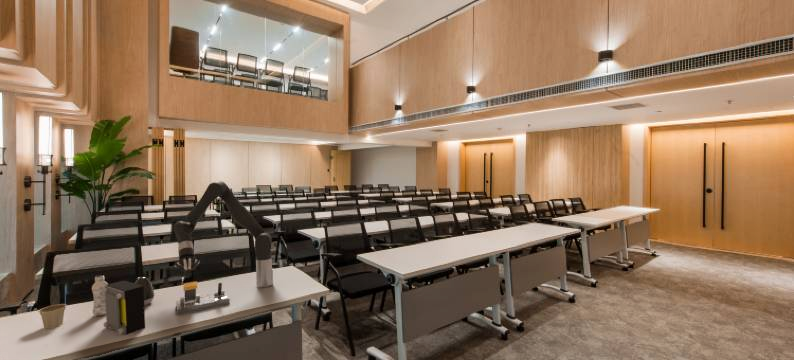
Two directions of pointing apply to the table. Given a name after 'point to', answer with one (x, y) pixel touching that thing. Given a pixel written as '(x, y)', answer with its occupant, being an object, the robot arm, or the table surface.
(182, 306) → the grey lever switch
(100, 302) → the plastic bottle
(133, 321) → the electrical component
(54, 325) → the flower pot
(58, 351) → the table surface
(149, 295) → the dark grey ridged ovoid
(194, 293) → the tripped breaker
